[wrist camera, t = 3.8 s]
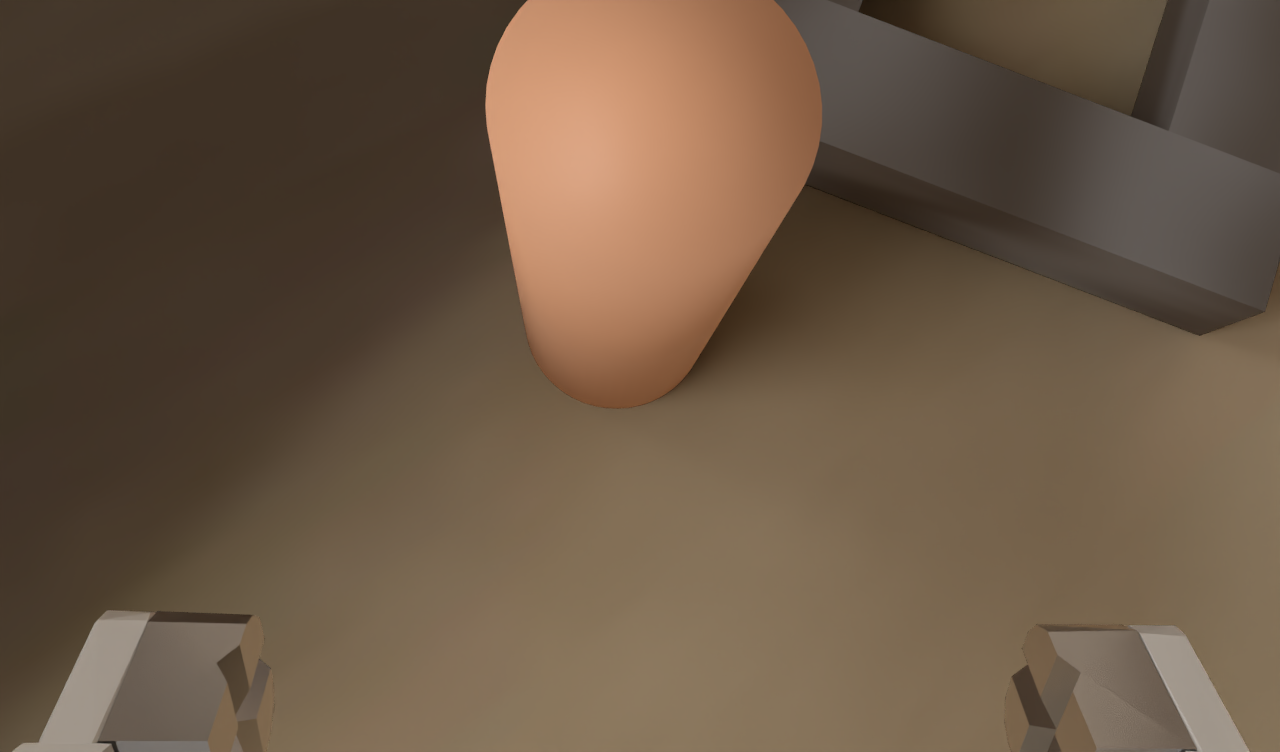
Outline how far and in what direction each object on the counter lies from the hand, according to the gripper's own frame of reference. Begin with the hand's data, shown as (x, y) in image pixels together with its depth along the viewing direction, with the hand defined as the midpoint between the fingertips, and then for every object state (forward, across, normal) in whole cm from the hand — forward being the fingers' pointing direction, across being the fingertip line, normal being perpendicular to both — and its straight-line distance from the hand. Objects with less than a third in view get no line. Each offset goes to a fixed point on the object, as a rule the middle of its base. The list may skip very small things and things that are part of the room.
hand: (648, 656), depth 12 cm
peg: (+13, 0, +4) cm, 14 cm away
